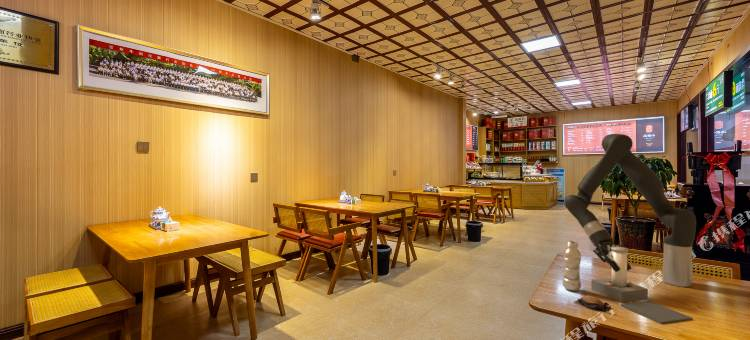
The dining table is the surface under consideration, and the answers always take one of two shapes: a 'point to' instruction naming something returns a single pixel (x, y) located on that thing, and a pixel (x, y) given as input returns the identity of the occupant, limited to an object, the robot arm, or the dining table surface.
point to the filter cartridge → (621, 259)
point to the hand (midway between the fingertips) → (623, 270)
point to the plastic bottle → (572, 267)
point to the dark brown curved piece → (593, 304)
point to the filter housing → (620, 290)
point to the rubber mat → (656, 312)
